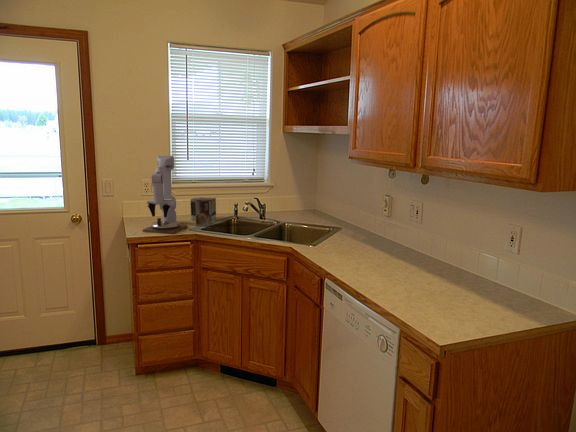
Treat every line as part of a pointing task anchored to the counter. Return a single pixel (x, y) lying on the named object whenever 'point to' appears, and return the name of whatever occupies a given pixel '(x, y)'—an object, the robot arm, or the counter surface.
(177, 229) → the wheel base
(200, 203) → the coffee box
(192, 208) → the dark piece
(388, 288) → the counter surface
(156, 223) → the handwheel
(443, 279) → the counter surface
